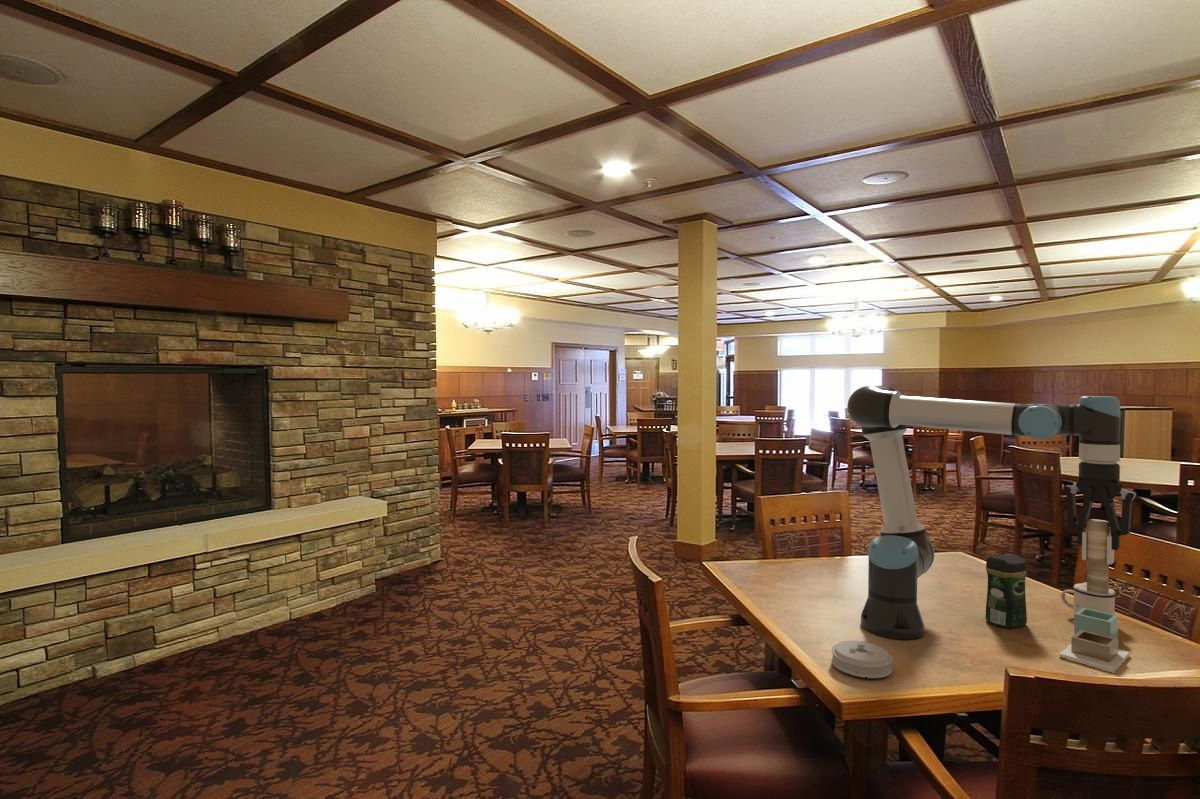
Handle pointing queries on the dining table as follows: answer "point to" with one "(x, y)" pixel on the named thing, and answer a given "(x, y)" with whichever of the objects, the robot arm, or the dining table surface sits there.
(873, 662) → the lid
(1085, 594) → the teacup with lid
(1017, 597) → the coffee jar
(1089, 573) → the dowel
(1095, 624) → the pen pot
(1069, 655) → the board
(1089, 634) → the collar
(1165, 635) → the dining table surface
